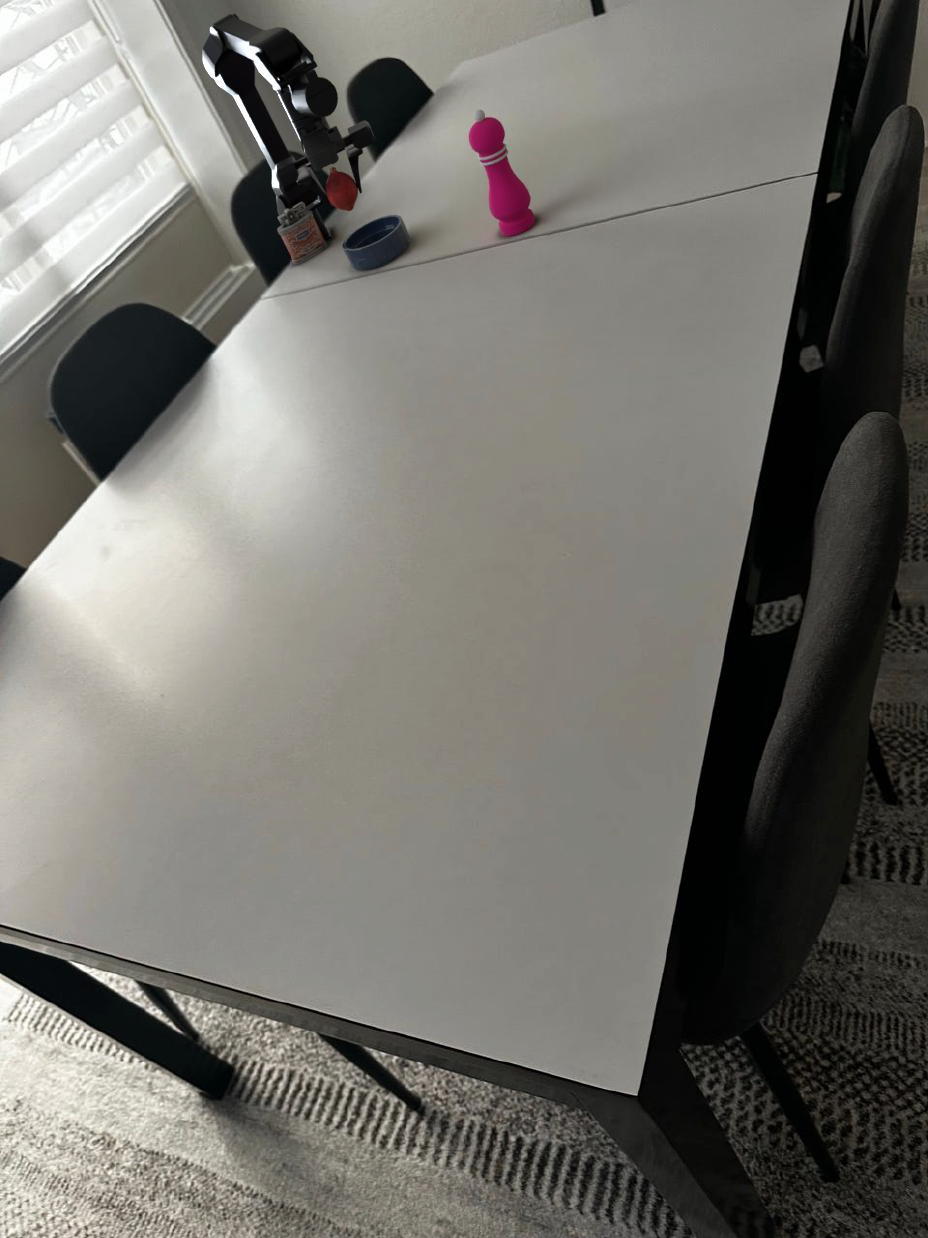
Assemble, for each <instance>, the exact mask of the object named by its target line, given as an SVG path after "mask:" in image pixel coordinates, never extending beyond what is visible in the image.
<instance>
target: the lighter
mask: <svg viewBox="0 0 928 1238" xmlns="http://www.w3.org/2000/svg"><path fill="white" fill-rule="evenodd" d="M304 209H306V206H305V204H304V203H303V202H300V203H298V204H296V205H295V206H293V208H291V209H288V208H287V209H285V210H284V213H283V214H281V215H280V216H279V215H278V216H277V219H278V221H279V223H280V226H278V227H277V228H276V230H277V233H278V235H280V237H281V239H282V241H283V243H284V245H285V247H286V249H287V251H288V253H289V255H290V257H291V261H292V263H293V264H294V265H299V264H302V263H303V262H305V261H307V260H309V259H311V258H313V257H314V256H316V255H317V254H319V253H321V252H322V251H323V250H325V249H326V248H327V247H328V244H327V241H326V242H325V240H324V239H323V237H322V235H321V233H320V230H319V228H318V226H317V224H316V222H315V220H314V217H313V213H312V211H311V210H308V211H305V212H303V213H302V212H301V211H302V210H304ZM297 213H298V215H297V216H296V214H297ZM285 221H286V222H285Z"/></svg>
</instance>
